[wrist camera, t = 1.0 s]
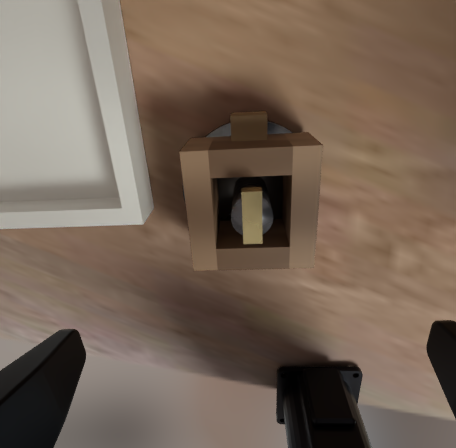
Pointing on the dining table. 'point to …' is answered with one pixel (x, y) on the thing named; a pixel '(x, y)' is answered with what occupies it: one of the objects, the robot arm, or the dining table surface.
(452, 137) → the dining table surface
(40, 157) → the tray
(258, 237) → the grey rounded piece
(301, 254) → the brown hollow block
